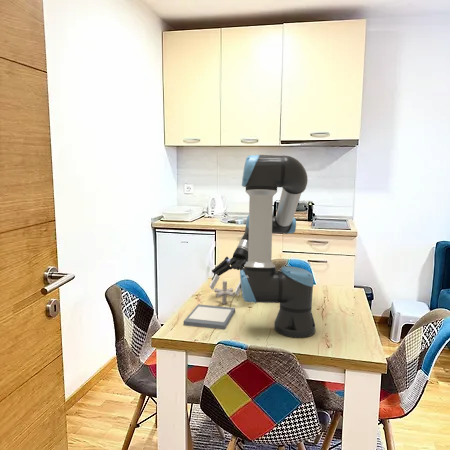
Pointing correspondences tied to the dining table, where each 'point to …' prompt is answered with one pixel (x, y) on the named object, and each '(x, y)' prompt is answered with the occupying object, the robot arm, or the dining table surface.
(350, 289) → the dining table surface
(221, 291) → the pipe connector
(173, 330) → the dining table surface
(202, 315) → the board
